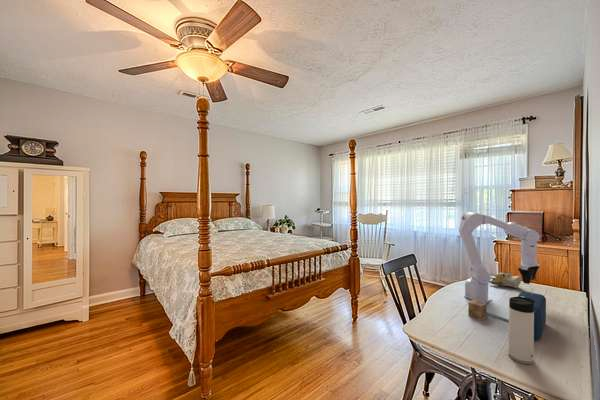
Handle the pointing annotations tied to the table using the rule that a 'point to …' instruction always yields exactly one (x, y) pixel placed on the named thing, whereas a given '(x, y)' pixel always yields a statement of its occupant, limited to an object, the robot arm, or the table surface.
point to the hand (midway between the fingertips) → (528, 281)
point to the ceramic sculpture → (506, 280)
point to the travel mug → (521, 329)
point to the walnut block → (477, 309)
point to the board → (498, 311)
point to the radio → (537, 312)
